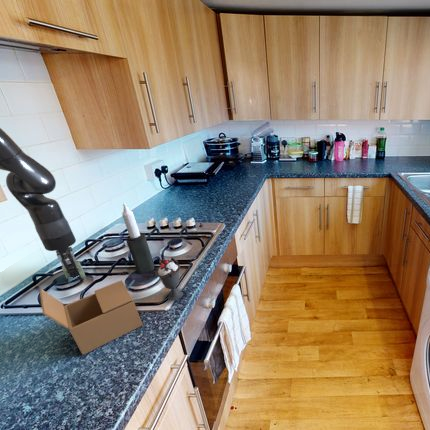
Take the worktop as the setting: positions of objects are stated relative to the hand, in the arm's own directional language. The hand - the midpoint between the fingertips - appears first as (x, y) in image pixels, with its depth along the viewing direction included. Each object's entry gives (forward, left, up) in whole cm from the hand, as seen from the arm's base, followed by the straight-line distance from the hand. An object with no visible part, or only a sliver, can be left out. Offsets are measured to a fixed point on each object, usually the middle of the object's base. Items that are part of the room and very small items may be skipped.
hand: (76, 276), depth 96 cm
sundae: (+20, -34, -1) cm, 39 cm away
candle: (+18, -12, -1) cm, 22 cm away
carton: (+3, -34, 0) cm, 34 cm away
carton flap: (-4, -34, +12) cm, 36 cm away
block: (0, 0, 0) cm, 0 cm away
